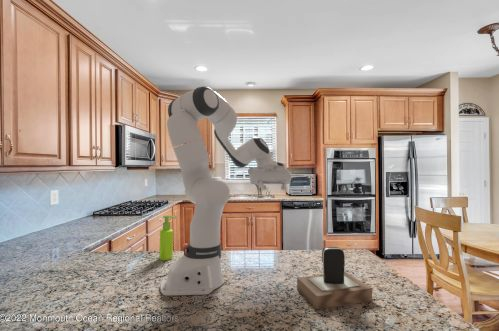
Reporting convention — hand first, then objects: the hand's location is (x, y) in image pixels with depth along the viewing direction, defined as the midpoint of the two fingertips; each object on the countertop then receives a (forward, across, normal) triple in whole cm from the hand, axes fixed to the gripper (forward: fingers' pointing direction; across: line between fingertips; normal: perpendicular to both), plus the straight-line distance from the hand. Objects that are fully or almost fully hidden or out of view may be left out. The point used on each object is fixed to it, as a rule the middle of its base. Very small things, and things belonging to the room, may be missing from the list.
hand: (274, 189), depth 110 cm
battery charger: (+43, +9, -1) cm, 44 cm away
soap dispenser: (+10, -47, +37) cm, 61 cm away
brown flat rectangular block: (+46, +9, +1) cm, 47 cm away
